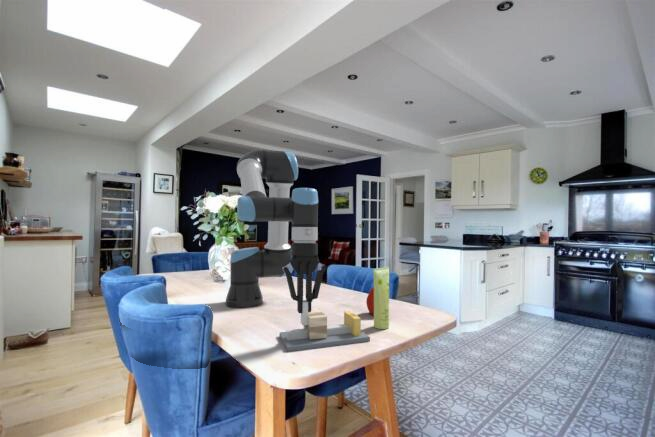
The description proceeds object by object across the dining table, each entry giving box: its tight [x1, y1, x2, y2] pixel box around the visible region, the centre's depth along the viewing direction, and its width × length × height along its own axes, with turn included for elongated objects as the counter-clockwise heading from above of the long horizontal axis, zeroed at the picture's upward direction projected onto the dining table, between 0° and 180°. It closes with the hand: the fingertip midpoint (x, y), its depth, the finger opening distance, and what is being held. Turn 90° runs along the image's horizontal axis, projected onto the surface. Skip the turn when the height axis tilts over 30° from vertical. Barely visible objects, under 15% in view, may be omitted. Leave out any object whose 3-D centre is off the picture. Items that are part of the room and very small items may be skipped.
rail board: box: [279, 310, 371, 353], centre depth 93 cm, size 12×24×6 cm, turn 109°
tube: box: [373, 266, 390, 330], centre depth 103 cm, size 6×5×20 cm
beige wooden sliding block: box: [303, 309, 328, 340], centre depth 92 cm, size 7×5×6 cm
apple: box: [366, 286, 374, 316], centre depth 118 cm, size 8×8×11 cm
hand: (304, 323), depth 91 cm, fingers closed
